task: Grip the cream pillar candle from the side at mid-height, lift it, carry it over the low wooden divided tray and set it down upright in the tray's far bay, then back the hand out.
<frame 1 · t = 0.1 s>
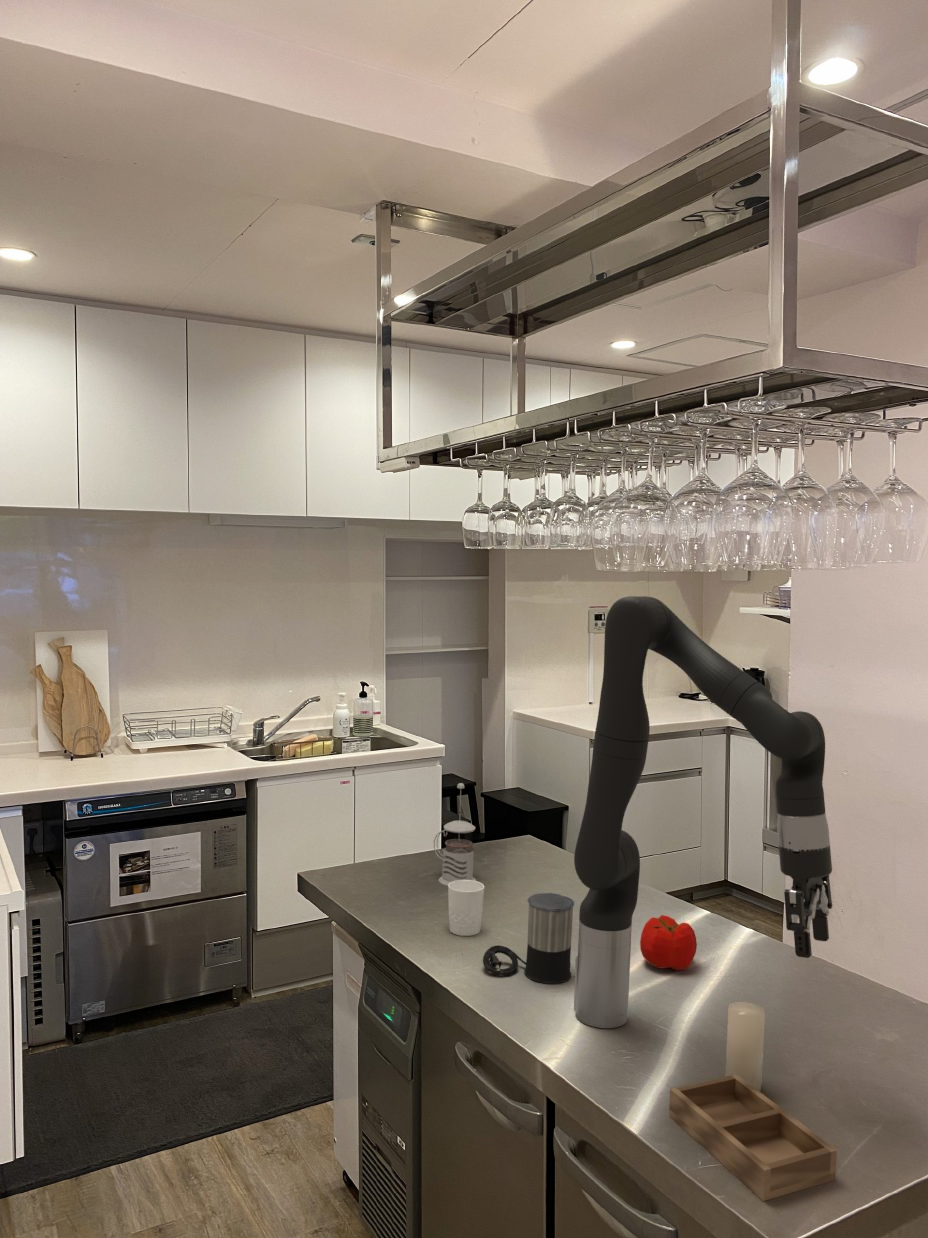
hand: (812, 948, 145), 22 cm above the countertop, tool pointing down, fingers open, 8 cm apart
white cup: (464, 931, 207), on the countertop
cream pillar candle: (742, 1085, 147), on the countertop
french press: (454, 880, 240), on the countertop
tomato: (667, 966, 192), on the countertop
wooden divided tray: (747, 1146, 131), on the countertop
milk frother: (527, 974, 186), on the countertop
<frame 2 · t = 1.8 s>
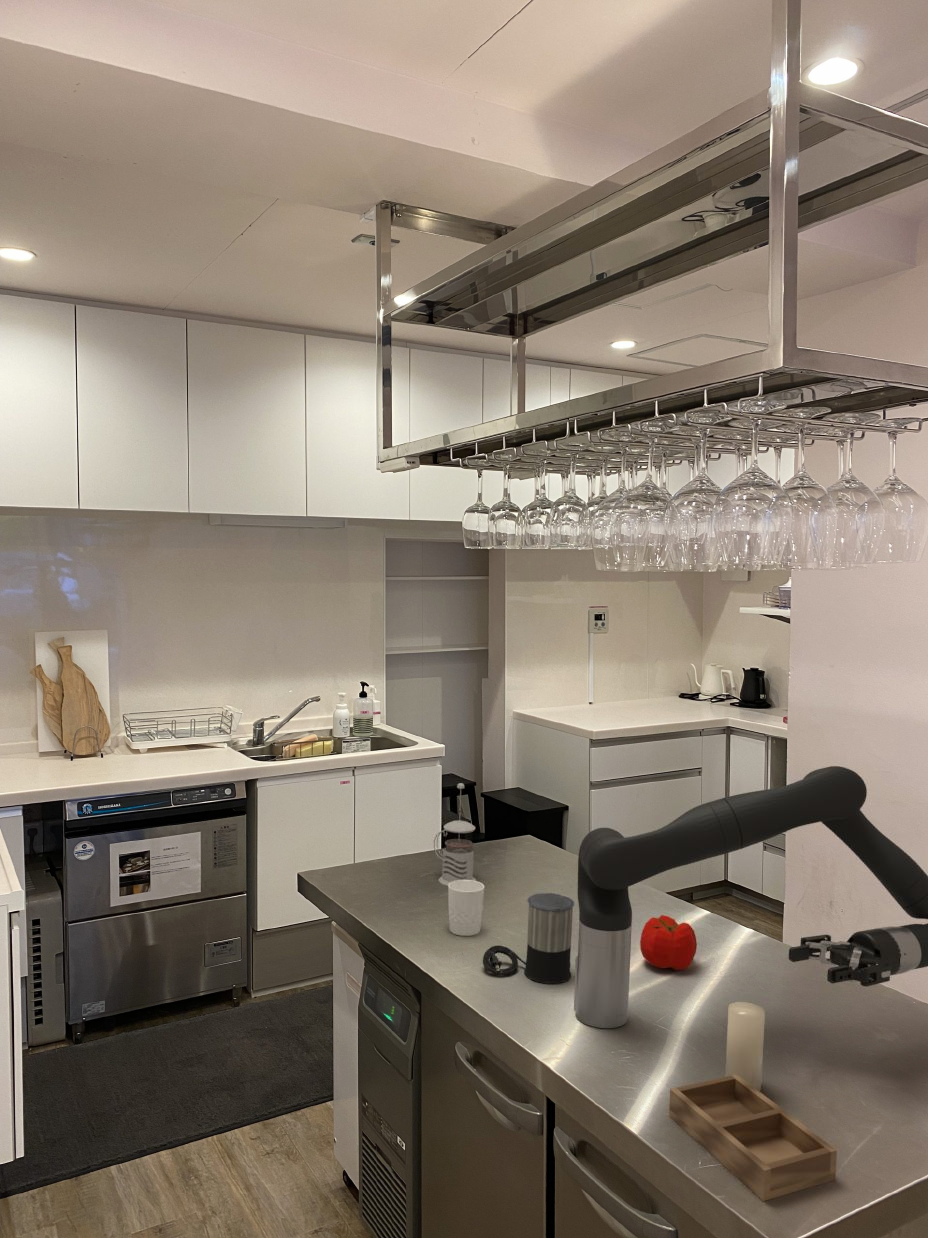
hand: (809, 965, 151), 17 cm above the countertop, tool horizontal, fingers open, 8 cm apart
nothing on the countertop moved.
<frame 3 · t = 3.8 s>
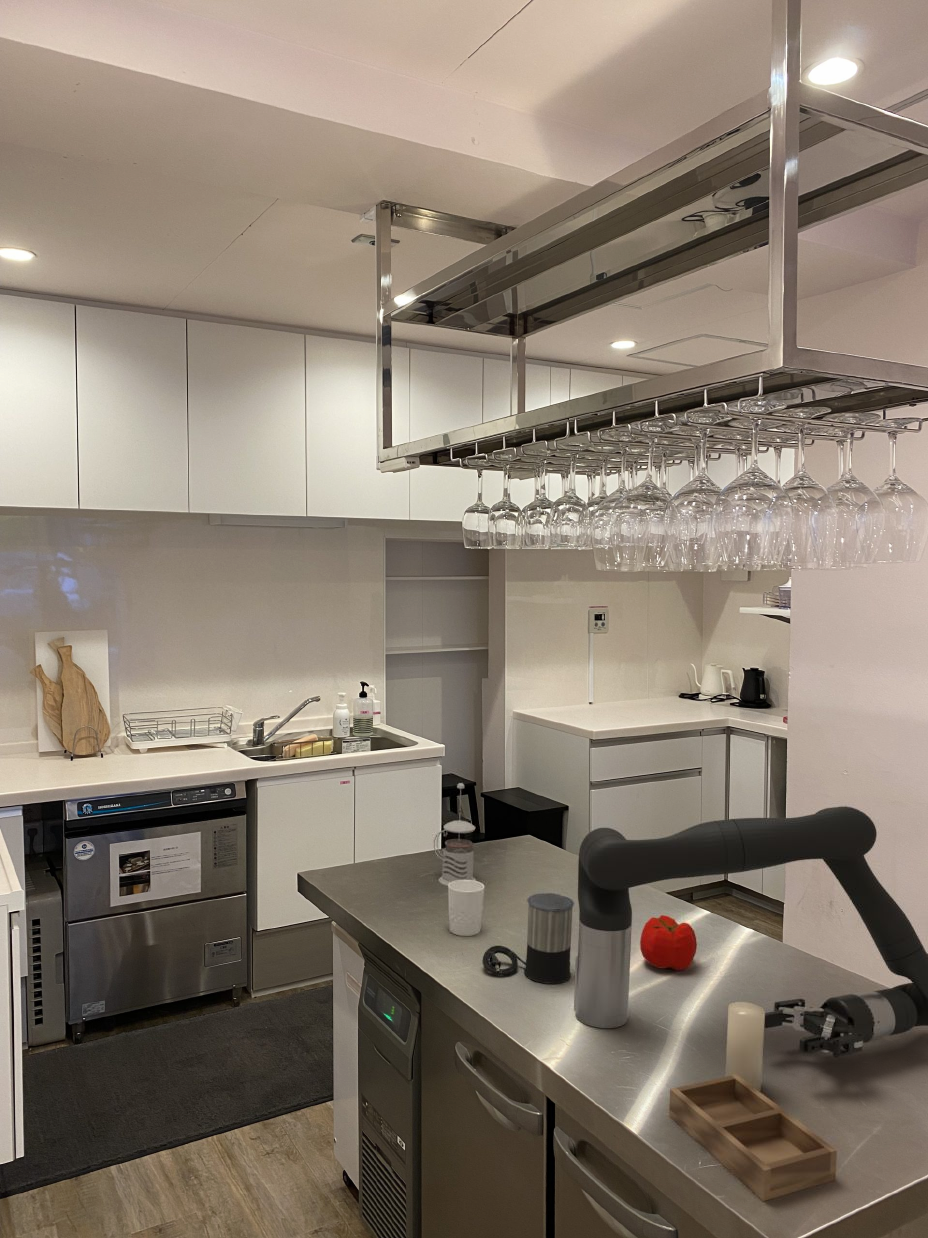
hand: (781, 1033, 150), 7 cm above the countertop, tool horizontal, fingers open, 8 cm apart
nothing on the countertop moved.
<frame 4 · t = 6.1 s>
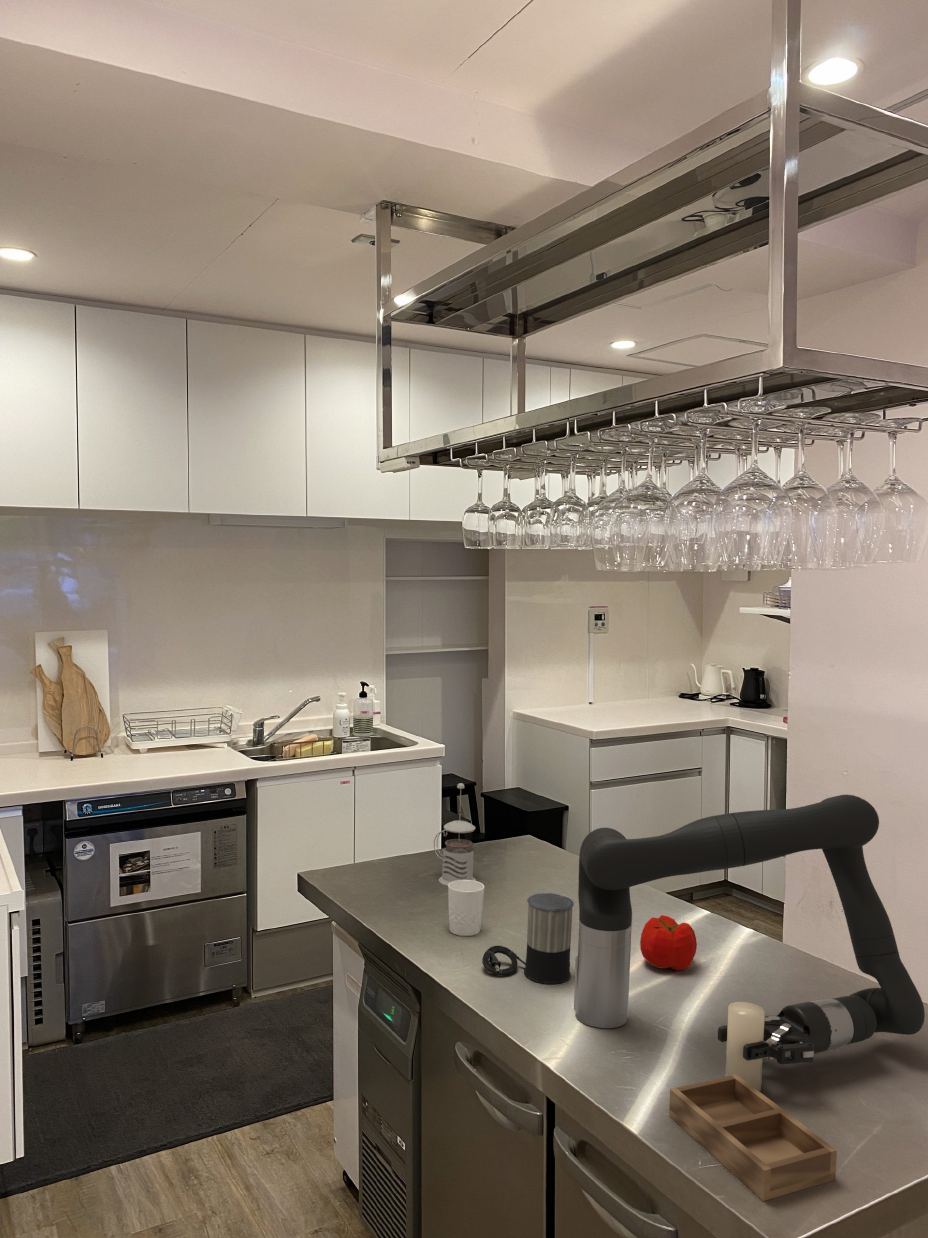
hand: (732, 1044, 146), 7 cm above the countertop, tool horizontal, fingers closed on cream pillar candle, 5 cm apart
cream pillar candle: (742, 1085, 147), on the countertop, touching gripper
everything else where it was.
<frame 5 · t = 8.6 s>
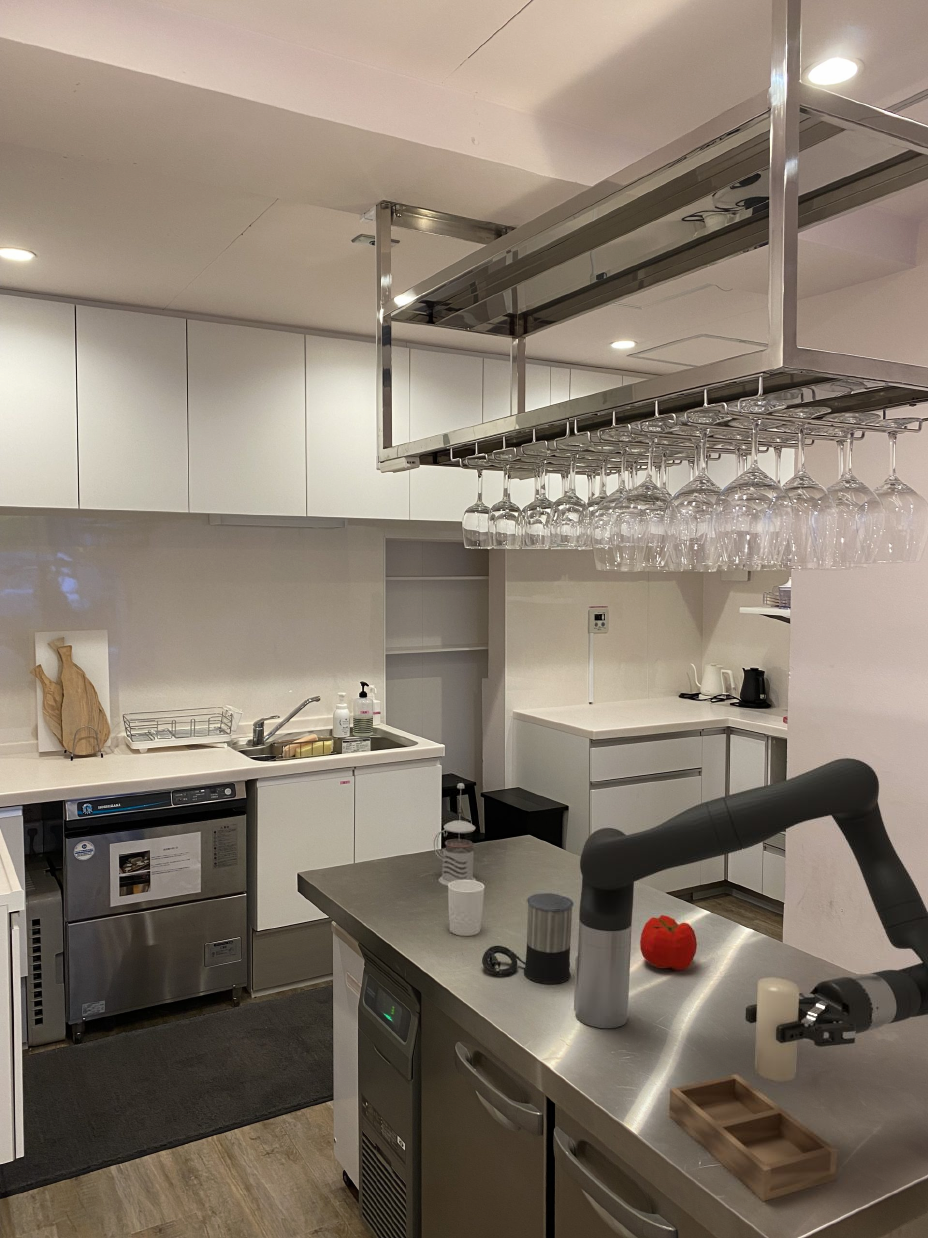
hand: (762, 1025, 129), 18 cm above the countertop, tool horizontal, fingers closed on cream pillar candle, 5 cm apart
cream pillar candle: (775, 1071, 130), point 11 cm above the countertop, touching gripper
everything else where it was.
when the fingers open (9 cm above the countertop, at t = 11.1 s): cream pillar candle drops 1 cm, resting on wooden divided tray.
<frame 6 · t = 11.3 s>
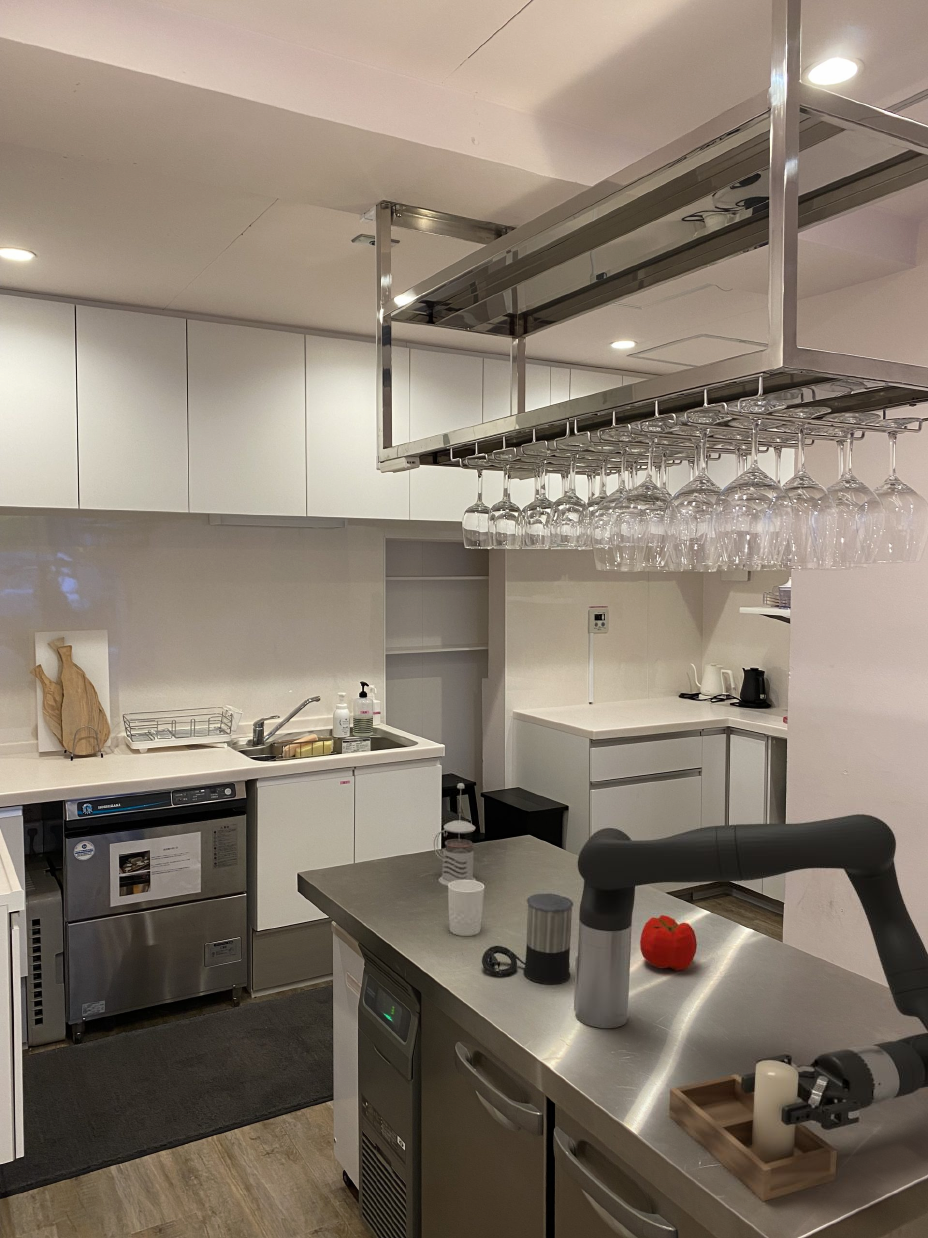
hand: (762, 1100, 125), 9 cm above the countertop, tool horizontal, fingers open, 7 cm apart
cream pillar candle: (772, 1158, 127), point 1 cm above the countertop, touching wooden divided tray
everything else where it was.
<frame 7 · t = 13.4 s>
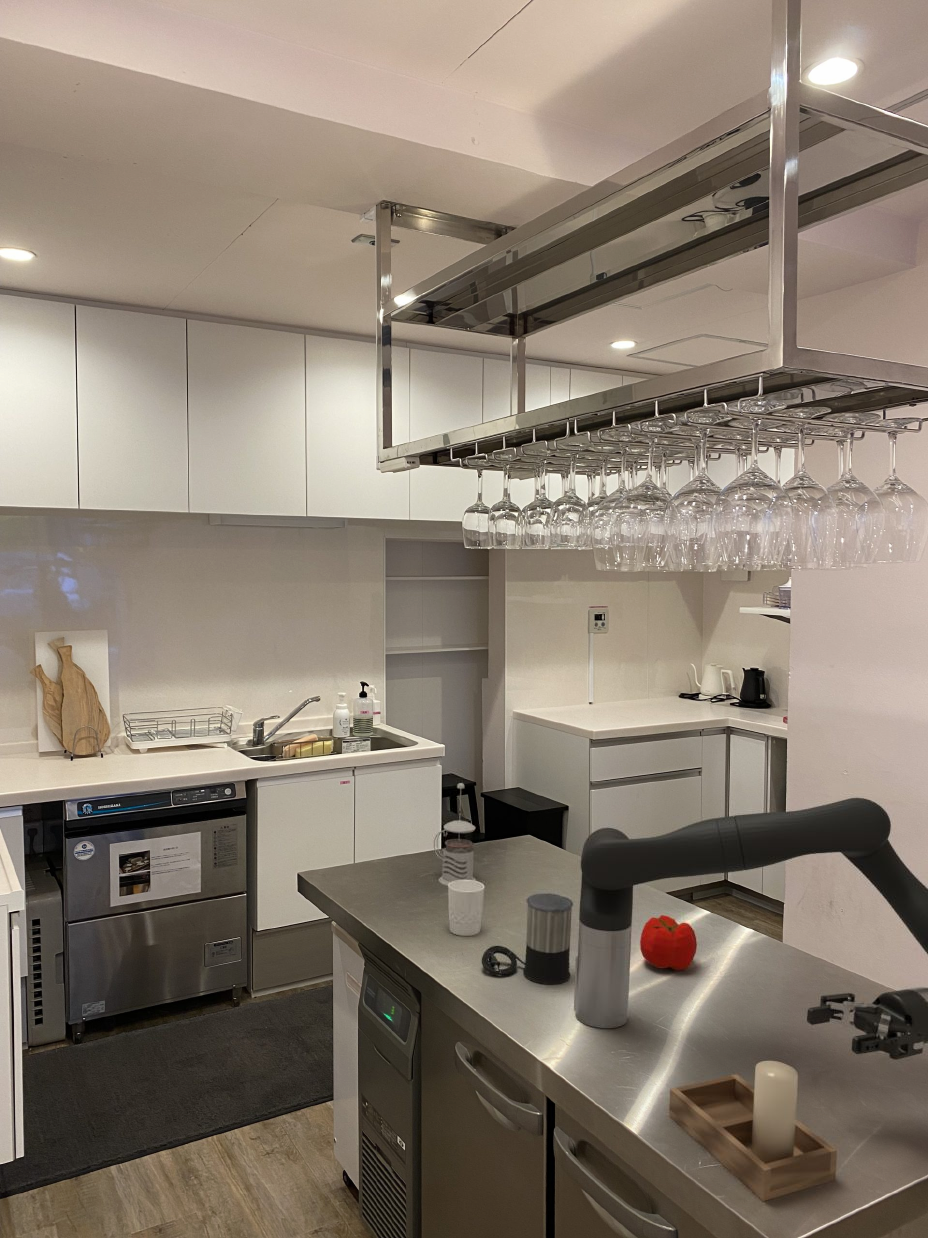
hand: (830, 1031, 133), 16 cm above the countertop, tool horizontal, fingers open, 8 cm apart
nothing on the countertop moved.
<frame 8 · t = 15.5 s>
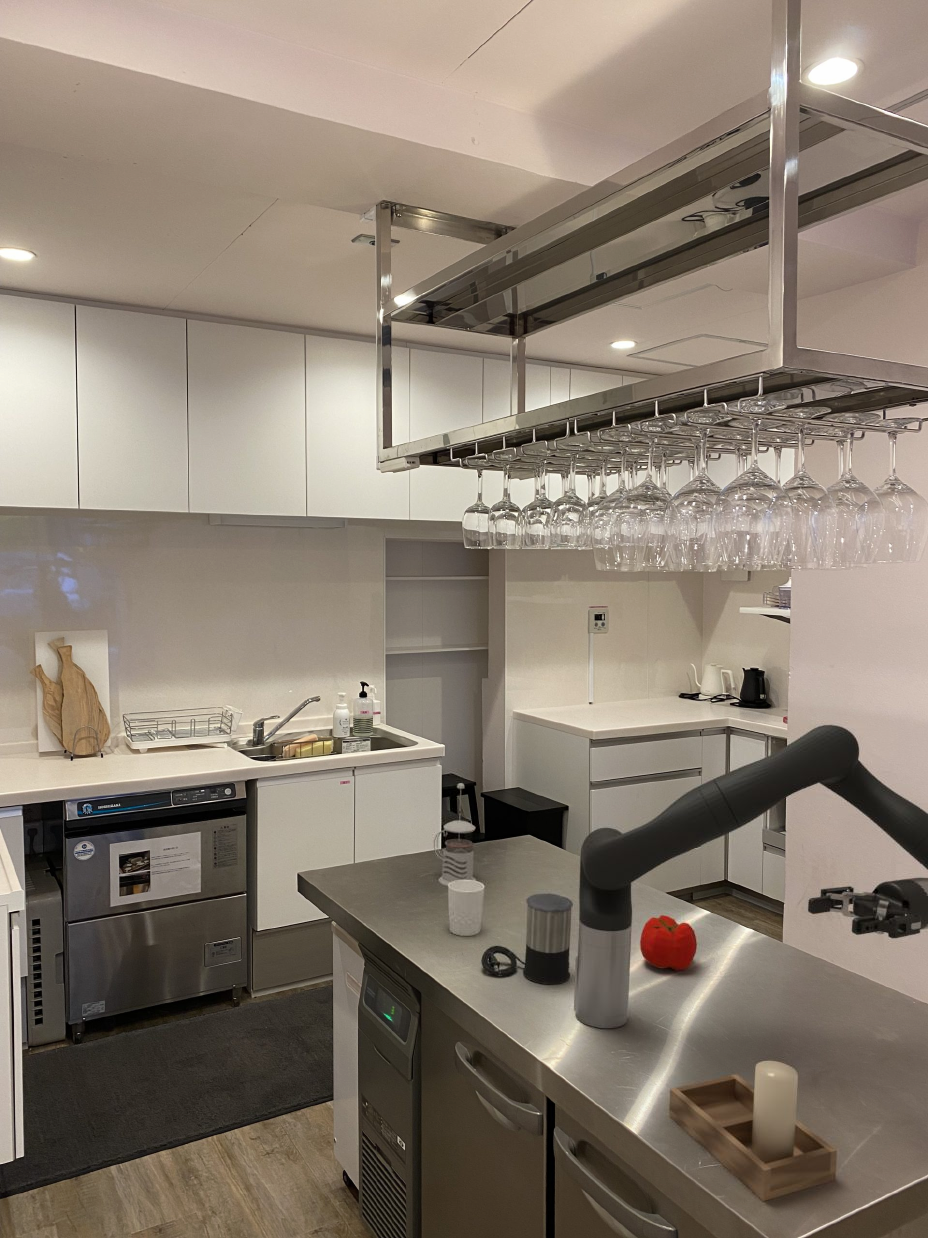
hand: (831, 916, 137), 30 cm above the countertop, tool horizontal, fingers open, 8 cm apart
nothing on the countertop moved.
at the end: cream pillar candle inside the target area on the wooden divided tray (0.4 cm from its centre), point 1.0 cm above the wooden divided tray's base; cream pillar candle tilted 0°; the gripper is holding nothing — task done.
